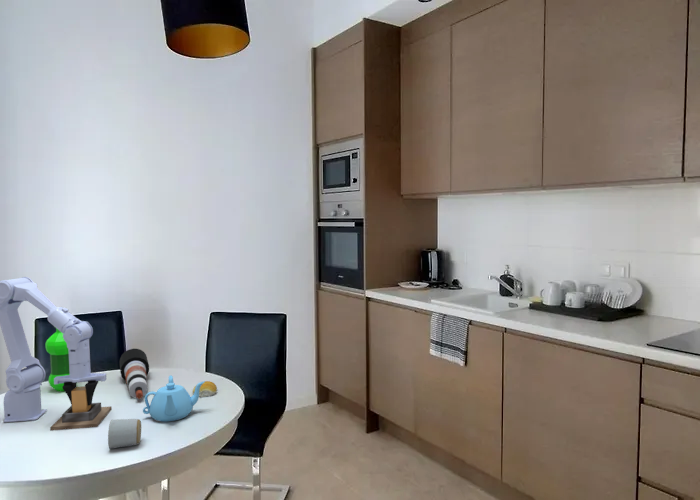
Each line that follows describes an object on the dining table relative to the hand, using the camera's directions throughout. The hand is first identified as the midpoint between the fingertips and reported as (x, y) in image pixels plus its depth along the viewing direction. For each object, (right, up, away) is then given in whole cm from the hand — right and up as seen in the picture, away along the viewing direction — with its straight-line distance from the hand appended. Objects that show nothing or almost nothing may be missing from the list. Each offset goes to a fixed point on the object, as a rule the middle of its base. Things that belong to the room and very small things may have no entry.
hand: (81, 404), depth 155 cm
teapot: (+28, -4, +3) cm, 28 cm away
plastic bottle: (-22, -3, +29) cm, 37 cm away
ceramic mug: (+21, -6, -17) cm, 28 cm away
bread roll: (+32, -3, +22) cm, 39 cm away
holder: (0, -5, 0) cm, 5 cm away
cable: (+5, -3, +29) cm, 30 cm away
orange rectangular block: (0, -2, 0) cm, 2 cm away
